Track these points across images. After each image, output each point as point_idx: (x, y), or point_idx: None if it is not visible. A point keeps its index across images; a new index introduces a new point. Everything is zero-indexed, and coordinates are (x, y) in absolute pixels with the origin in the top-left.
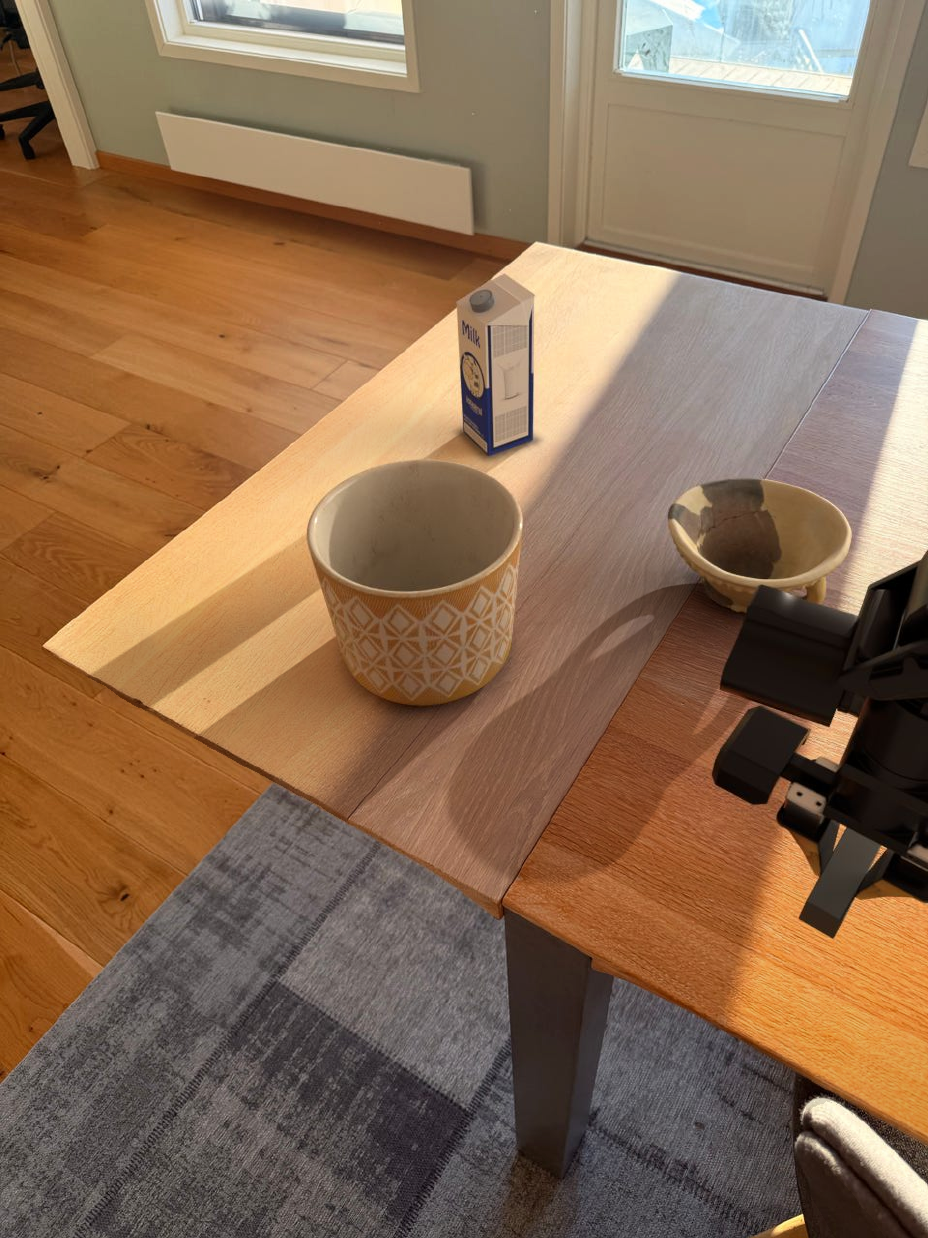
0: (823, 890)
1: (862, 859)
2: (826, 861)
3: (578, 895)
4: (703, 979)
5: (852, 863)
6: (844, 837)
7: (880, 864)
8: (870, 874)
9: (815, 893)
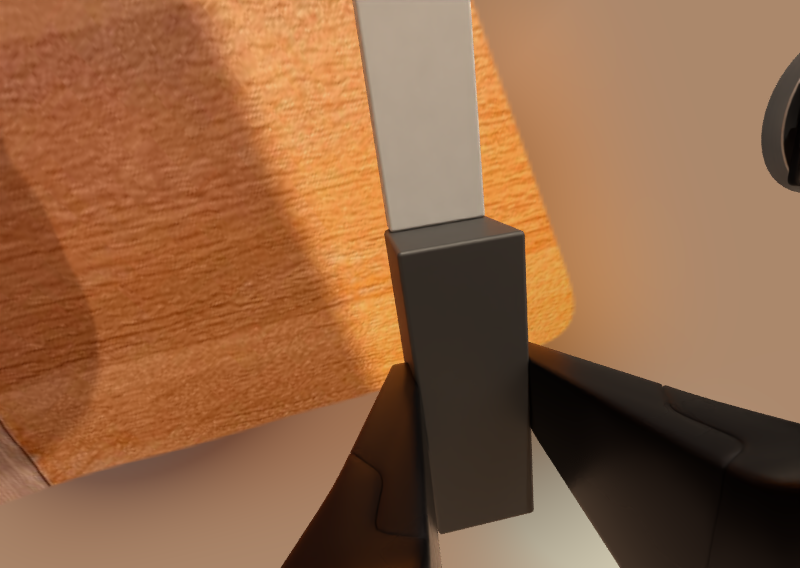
0: (458, 486)
1: (499, 334)
2: (428, 458)
3: (115, 415)
4: (323, 377)
5: (480, 364)
6: (415, 307)
7: (670, 553)
8: (584, 461)
9: (445, 504)
